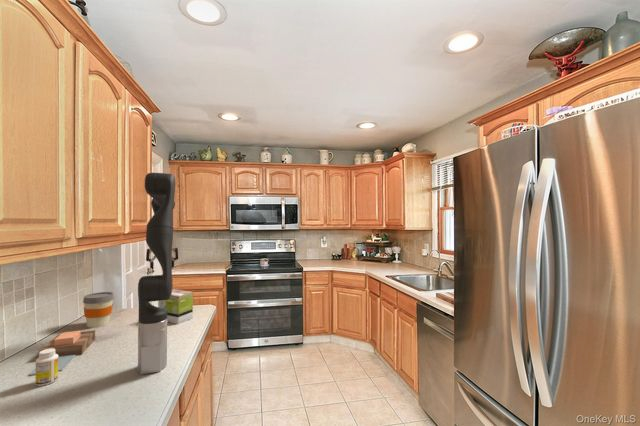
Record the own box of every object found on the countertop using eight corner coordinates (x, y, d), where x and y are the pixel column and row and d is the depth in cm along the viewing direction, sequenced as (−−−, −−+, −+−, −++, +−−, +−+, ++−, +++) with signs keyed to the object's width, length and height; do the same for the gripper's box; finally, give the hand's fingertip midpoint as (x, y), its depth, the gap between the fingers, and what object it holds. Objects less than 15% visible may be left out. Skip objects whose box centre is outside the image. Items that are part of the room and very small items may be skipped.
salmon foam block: (73, 343, 119) (73, 337, 119) (54, 346, 117) (54, 339, 117) (80, 336, 126) (80, 330, 126) (62, 338, 124) (63, 332, 124)
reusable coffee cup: (85, 322, 154) (86, 293, 155) (114, 318, 160) (115, 290, 161) (79, 330, 143) (80, 299, 144) (111, 326, 149) (112, 296, 150)
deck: (81, 354, 118) (82, 344, 118) (40, 360, 113) (40, 349, 114) (94, 339, 133) (95, 330, 133) (58, 343, 128) (58, 334, 128)
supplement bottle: (52, 376, 102) (53, 346, 102) (61, 379, 100) (62, 349, 100) (31, 384, 97) (32, 352, 97) (40, 388, 95) (41, 355, 95)
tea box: (157, 320, 158) (157, 292, 158) (173, 315, 167) (173, 288, 168) (178, 324, 152) (178, 295, 152) (193, 318, 161) (193, 291, 162)
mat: (61, 371, 106) (61, 369, 106) (28, 375, 102) (28, 374, 102) (75, 355, 118) (75, 354, 118) (46, 359, 114) (46, 358, 114)
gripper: (145, 237, 143) (145, 271, 143) (178, 236, 149) (178, 269, 149) (147, 236, 150) (146, 268, 150) (178, 236, 156) (178, 266, 156)
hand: (162, 268), depth 150 cm, fingers open, 8 cm apart
